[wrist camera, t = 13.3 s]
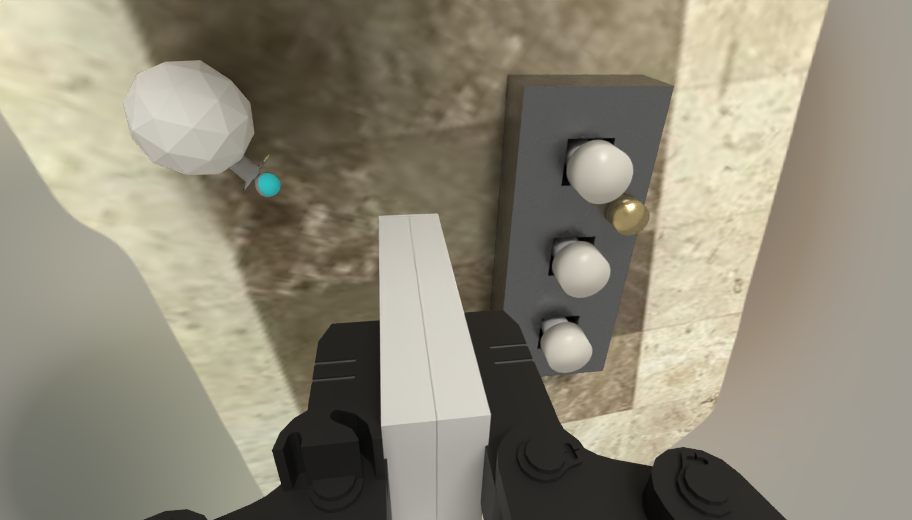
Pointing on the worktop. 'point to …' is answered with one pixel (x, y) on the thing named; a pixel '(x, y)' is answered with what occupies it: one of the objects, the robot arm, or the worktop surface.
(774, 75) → the worktop surface
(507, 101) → the mount
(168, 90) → the perfume bottle
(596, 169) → the knob
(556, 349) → the knob
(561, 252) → the knob mid
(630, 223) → the brass dial
